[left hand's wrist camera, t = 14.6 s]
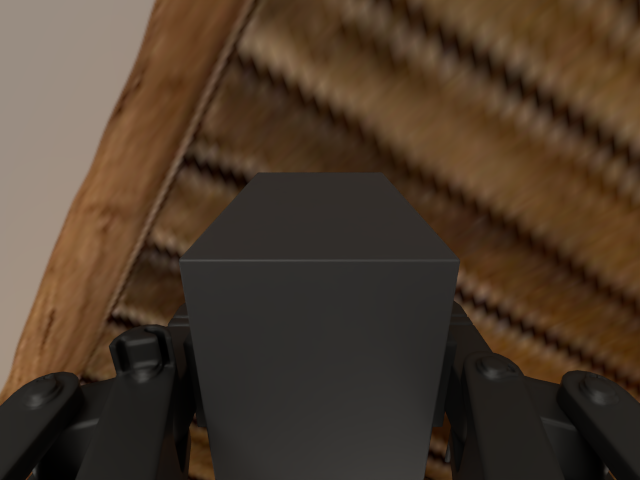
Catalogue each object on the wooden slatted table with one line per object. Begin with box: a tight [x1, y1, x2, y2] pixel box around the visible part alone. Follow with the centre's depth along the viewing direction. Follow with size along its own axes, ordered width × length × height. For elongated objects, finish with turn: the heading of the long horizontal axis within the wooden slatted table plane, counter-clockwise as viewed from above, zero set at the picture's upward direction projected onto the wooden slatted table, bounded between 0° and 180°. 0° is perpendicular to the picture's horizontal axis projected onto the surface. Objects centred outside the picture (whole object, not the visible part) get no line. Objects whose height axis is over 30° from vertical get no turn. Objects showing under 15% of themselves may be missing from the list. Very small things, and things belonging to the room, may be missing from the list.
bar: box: [179, 173, 460, 480], centre depth 14 cm, size 22×5×8 cm, turn 0°
